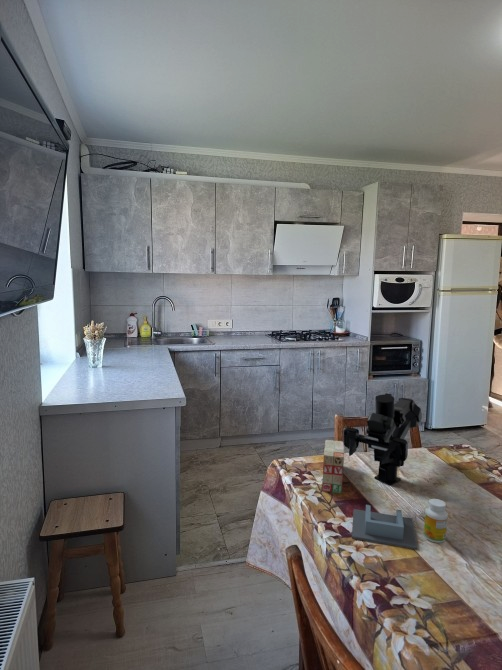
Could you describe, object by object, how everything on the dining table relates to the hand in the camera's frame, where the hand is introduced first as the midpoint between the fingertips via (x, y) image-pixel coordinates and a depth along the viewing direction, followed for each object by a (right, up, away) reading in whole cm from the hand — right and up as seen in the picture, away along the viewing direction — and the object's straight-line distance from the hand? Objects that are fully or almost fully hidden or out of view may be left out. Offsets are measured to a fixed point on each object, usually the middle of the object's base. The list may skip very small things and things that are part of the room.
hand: (365, 458), depth 124 cm
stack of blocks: (-5, -13, +23) cm, 27 cm away
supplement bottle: (+16, -18, -9) cm, 26 cm away
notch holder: (+3, -17, -6) cm, 19 cm away
